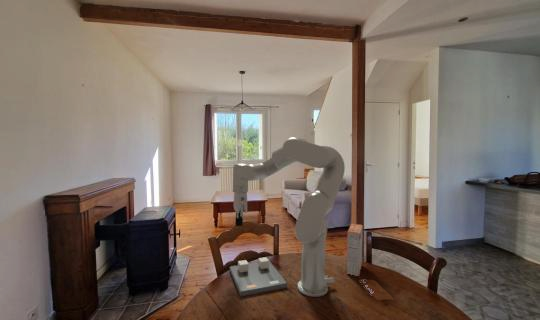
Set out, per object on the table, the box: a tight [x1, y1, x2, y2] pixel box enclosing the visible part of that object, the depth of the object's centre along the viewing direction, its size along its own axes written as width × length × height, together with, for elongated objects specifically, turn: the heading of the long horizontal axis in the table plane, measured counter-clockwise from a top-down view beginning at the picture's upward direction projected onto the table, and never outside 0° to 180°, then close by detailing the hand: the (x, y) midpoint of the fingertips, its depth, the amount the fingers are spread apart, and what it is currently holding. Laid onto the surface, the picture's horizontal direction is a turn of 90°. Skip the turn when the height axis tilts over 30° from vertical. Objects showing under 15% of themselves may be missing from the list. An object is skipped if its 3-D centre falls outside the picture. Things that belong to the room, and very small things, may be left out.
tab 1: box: [237, 259, 250, 272], centre depth 113 cm, size 4×4×4 cm
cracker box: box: [346, 223, 364, 277], centre depth 120 cm, size 14×6×21 cm, turn 154°
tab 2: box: [257, 256, 270, 269], centre depth 116 cm, size 4×4×4 cm
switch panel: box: [229, 260, 288, 297], centre depth 110 cm, size 20×22×2 cm
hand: (238, 225), depth 121 cm, fingers closed
